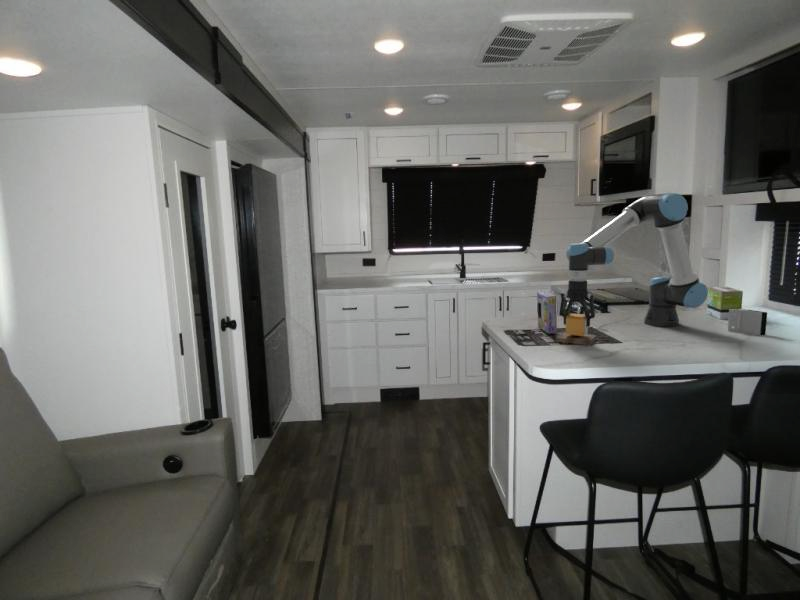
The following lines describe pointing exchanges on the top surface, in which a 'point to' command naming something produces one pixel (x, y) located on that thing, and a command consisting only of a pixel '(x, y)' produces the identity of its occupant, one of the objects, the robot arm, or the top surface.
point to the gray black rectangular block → (747, 321)
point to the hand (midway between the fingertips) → (576, 332)
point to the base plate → (576, 339)
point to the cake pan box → (547, 312)
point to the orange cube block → (575, 324)
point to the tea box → (723, 301)
